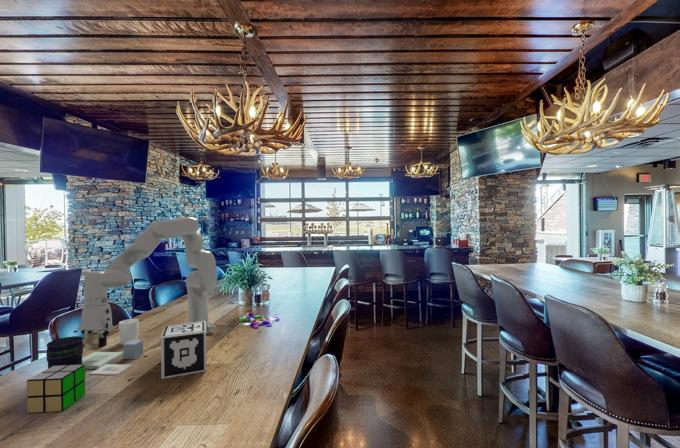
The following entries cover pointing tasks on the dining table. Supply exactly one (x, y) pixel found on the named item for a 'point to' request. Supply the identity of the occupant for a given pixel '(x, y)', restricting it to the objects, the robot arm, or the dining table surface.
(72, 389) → the puzzle cube
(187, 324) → the block
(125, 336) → the white cup
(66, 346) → the storage jar
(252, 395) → the dining table surface
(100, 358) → the board
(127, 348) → the slate block
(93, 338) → the maple block
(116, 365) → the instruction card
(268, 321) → the flower wreath
